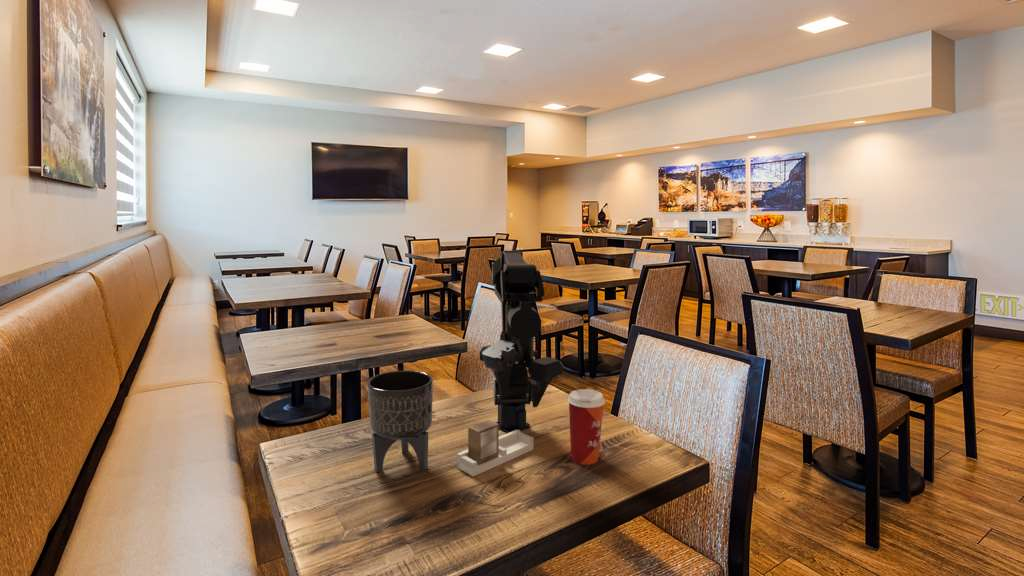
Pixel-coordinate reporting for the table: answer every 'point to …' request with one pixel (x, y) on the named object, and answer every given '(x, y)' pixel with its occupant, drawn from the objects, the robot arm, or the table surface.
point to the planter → (400, 413)
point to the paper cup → (585, 425)
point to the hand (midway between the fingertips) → (519, 400)
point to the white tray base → (508, 449)
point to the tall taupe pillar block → (483, 441)
